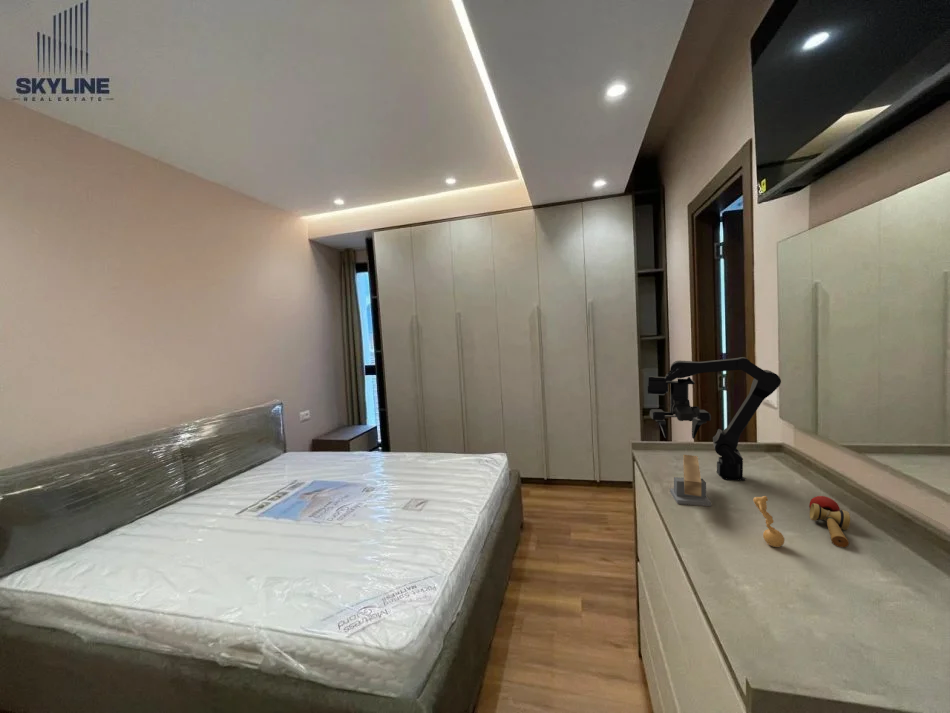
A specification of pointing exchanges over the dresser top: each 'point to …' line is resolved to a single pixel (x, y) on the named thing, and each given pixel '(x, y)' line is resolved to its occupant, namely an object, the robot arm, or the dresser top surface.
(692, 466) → the plank
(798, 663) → the dresser top surface
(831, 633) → the dresser top surface
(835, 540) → the kendama
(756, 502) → the figurine
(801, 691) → the dresser top surface
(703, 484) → the grey stepped block
